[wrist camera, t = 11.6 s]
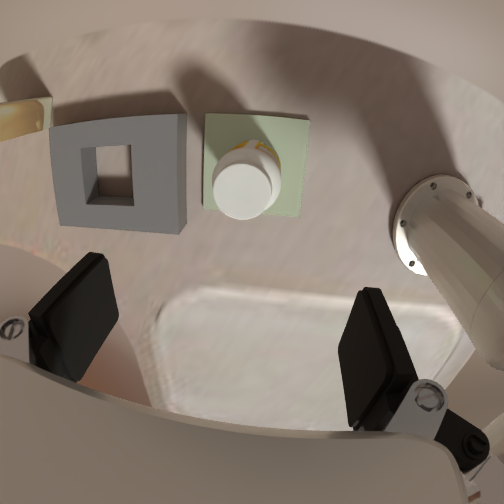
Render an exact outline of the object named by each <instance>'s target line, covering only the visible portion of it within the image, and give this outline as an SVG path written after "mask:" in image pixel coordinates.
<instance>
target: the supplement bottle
mask: <svg viewBox="0 0 504 504" xmlns="http://www.w3.org/2000/svg"><path fill="white" fill-rule="evenodd" d="M281 184H282V179H281V162H280V158H279V156H278V154H277V152H276V151H275V150H274V149H273V148H272V147H271V146H270V145H269V144H267V143H265V142H263V141H259V140H248V141H244V142H241V143H239V144H238V145H236V146H235V147H234V148H233V149H231V150H230V151H229V152H228V153H226V154H225V155H224V156H223V157H222V158H221V159H220V160H219V161H218V163H217V164H216V166H215V168H214V171H213V174H212V188H213V198H214V200H215V203H216V205H217V206H218V208H219V209H220V210H221V211H222V212H223V213H224V214H226V215H227V216H229V217H231V218H234V219H239V220H246V219H251V218H254V217H256V216H258V215H259V214H261V213H262V212H263V211H265V210H266V209H268V208H269V207H270V206H271V205H272V204H273V203H274V202H275V201H276V199H277V197H278V195H279V193H280V190H281Z"/></svg>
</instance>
